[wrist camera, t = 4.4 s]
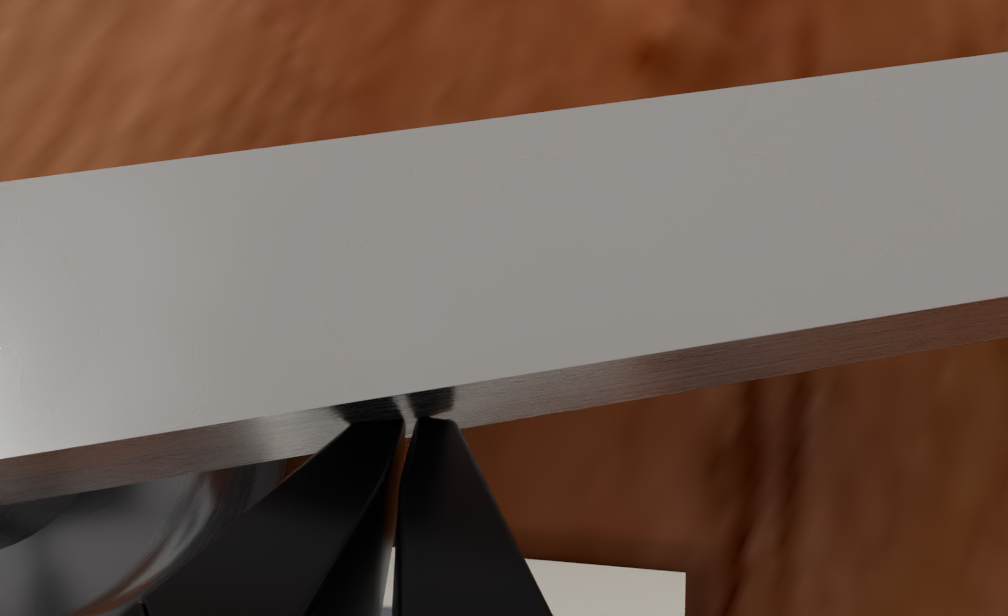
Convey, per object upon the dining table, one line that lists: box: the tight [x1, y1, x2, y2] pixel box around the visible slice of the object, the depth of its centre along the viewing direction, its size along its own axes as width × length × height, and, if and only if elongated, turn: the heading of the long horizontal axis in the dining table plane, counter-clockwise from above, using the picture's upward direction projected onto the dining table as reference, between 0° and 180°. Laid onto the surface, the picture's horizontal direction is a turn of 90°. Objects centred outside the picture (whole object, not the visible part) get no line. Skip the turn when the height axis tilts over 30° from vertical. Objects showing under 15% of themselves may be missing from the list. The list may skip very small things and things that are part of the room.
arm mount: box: [0, 458, 288, 616], centre depth 13 cm, size 6×6×4 cm
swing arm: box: [0, 52, 1008, 549], centre depth 10 cm, size 3×19×4 cm, turn 100°
